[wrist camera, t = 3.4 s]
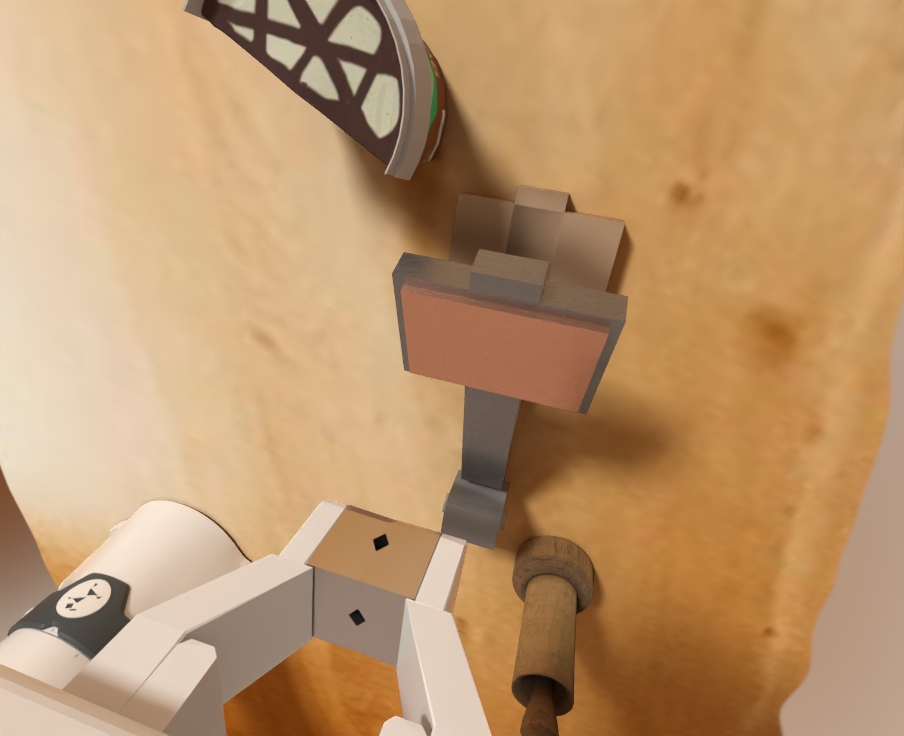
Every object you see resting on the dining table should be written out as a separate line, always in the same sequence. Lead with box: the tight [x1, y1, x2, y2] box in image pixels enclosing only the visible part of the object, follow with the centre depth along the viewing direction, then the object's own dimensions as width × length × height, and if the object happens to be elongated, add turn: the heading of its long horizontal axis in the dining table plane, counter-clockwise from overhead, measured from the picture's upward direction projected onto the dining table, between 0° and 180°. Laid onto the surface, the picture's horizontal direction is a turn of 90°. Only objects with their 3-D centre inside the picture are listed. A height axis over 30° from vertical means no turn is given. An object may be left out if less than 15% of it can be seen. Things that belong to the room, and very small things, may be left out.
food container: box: [183, 0, 447, 180], centre depth 24 cm, size 12×6×10 cm, turn 53°
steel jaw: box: [392, 249, 628, 490], centre depth 28 cm, size 20×10×2 cm, turn 170°
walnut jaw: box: [441, 185, 625, 550], centre depth 32 cm, size 25×10×6 cm, turn 171°
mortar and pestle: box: [512, 536, 594, 736], centre depth 33 cm, size 7×6×18 cm
